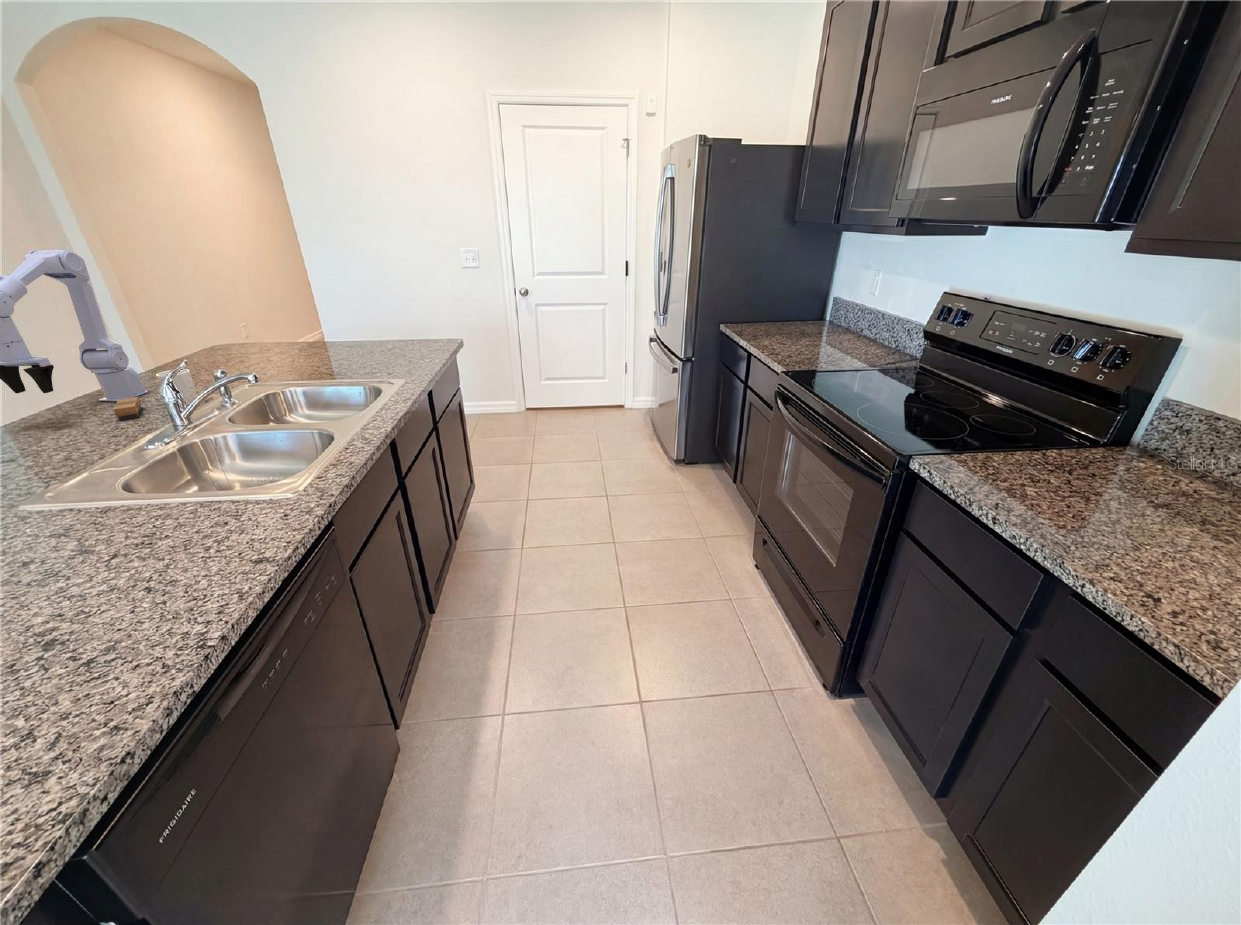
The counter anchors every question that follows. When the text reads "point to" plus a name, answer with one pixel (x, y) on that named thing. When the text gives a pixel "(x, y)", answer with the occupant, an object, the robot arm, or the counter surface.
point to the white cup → (181, 383)
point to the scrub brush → (128, 408)
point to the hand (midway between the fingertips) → (34, 392)
